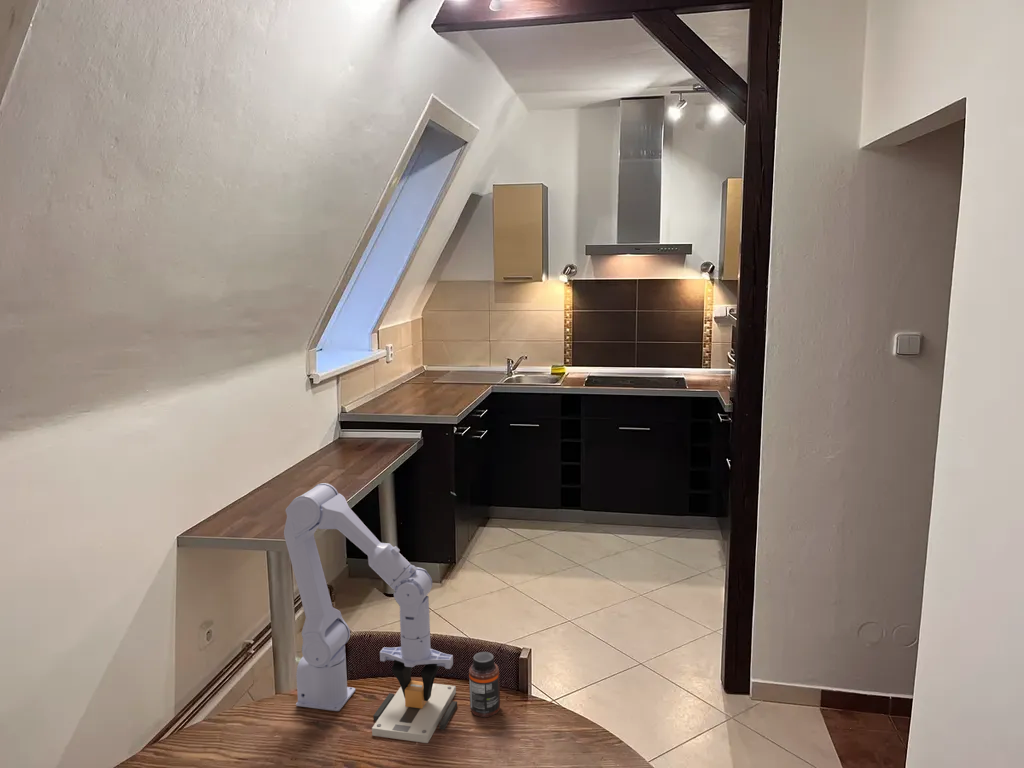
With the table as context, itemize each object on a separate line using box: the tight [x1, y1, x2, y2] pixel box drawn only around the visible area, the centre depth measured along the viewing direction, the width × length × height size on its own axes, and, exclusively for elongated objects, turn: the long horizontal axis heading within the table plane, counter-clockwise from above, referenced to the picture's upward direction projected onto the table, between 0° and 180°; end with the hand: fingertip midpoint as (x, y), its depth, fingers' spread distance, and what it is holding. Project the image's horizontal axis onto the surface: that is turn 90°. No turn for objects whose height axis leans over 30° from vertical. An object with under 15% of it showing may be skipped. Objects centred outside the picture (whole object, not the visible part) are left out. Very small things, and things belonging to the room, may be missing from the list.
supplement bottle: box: [468, 651, 501, 718], centre depth 149 cm, size 6×6×11 cm
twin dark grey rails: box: [372, 692, 458, 731], centre depth 149 cm, size 14×8×1 cm, turn 77°
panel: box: [371, 682, 457, 744], centre depth 149 cm, size 11×17×2 cm, turn 166°
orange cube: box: [405, 679, 427, 708], centre depth 149 cm, size 4×4×4 cm
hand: (417, 696), depth 149 cm, fingers closed on orange cube, 3 cm apart
